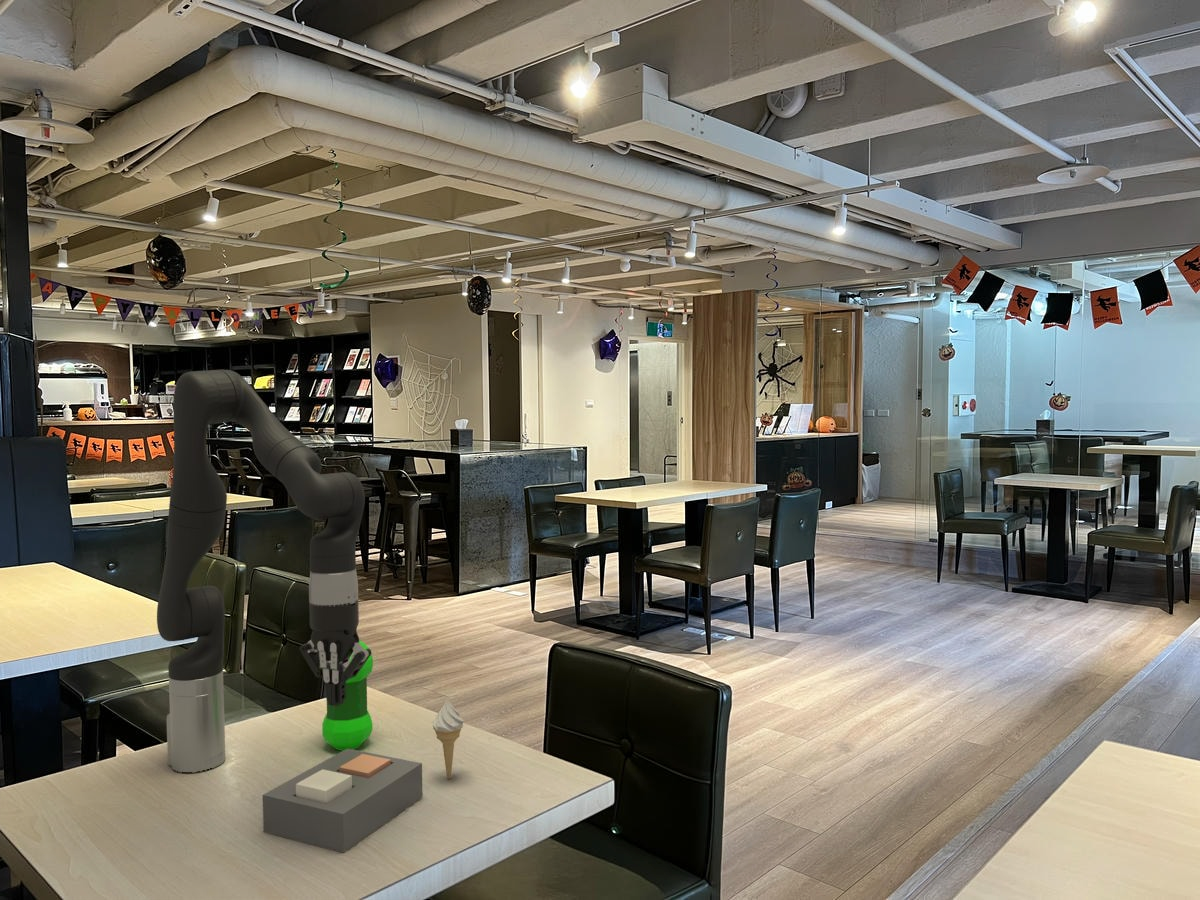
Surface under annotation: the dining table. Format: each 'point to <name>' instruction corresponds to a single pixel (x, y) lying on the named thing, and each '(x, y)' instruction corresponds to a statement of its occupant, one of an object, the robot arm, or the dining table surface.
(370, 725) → the plastic bottle
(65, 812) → the dining table surface
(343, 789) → the white key
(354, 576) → the robot arm
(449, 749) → the ice cream cone
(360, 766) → the terracotta key
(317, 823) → the block
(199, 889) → the dining table surface
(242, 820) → the dining table surface
